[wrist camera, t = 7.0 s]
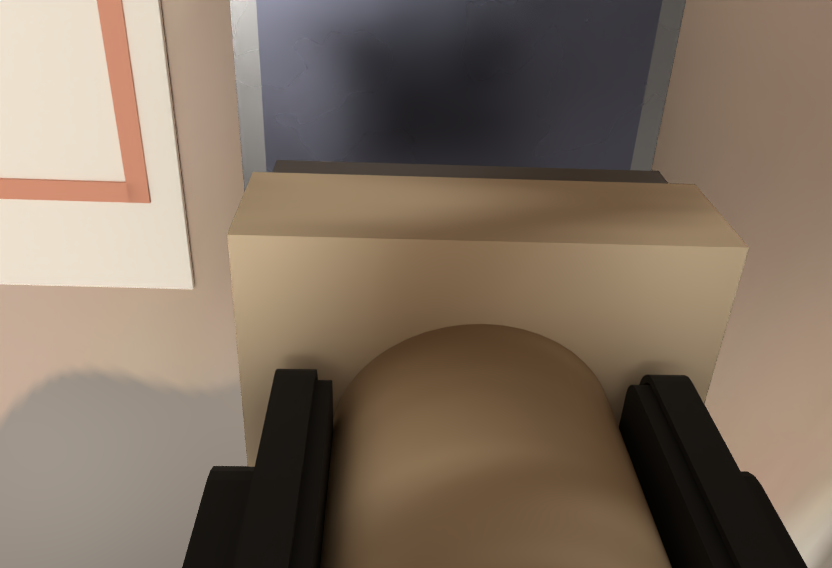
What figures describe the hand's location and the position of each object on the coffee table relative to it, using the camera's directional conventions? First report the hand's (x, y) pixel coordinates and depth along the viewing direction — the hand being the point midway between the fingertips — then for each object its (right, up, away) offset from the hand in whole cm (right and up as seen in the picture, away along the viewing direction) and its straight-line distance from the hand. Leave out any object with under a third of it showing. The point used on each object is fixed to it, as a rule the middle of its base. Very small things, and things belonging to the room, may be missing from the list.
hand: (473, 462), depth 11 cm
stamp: (0, +2, +3) cm, 3 cm away
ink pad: (0, +7, +11) cm, 13 cm away
